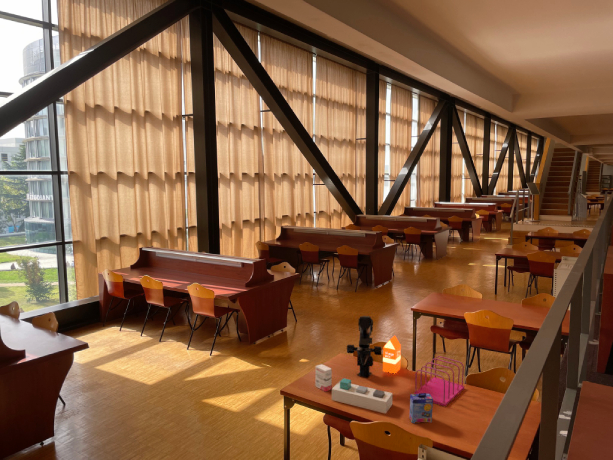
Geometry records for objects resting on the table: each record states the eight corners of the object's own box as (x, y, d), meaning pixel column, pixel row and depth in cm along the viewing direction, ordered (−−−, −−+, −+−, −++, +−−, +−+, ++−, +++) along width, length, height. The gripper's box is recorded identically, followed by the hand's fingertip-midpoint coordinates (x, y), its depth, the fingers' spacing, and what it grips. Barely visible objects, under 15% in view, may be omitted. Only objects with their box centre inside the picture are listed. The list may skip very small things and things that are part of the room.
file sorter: (413, 396, 251) (414, 368, 249) (434, 379, 270) (435, 353, 268) (444, 407, 240) (446, 377, 238) (464, 389, 259) (465, 361, 257)
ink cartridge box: (412, 423, 225) (413, 394, 223) (408, 417, 231) (409, 389, 228) (432, 422, 226) (433, 393, 224) (428, 416, 231) (429, 388, 229)
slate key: (359, 392, 248) (359, 385, 247) (367, 394, 246) (367, 387, 245) (356, 396, 244) (356, 389, 243) (364, 398, 242) (364, 391, 241)
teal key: (343, 385, 251) (343, 378, 251) (351, 387, 249) (351, 379, 249) (339, 388, 248) (339, 381, 247) (347, 390, 246) (347, 383, 245)
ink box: (332, 389, 259) (332, 368, 257) (325, 392, 256) (325, 371, 254) (321, 383, 265) (321, 363, 264) (314, 386, 262) (314, 365, 261)
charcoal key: (375, 396, 243) (376, 389, 243) (384, 398, 241) (384, 391, 241) (372, 400, 240) (373, 393, 239) (381, 402, 238) (381, 395, 237)
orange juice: (400, 368, 284) (401, 336, 281) (395, 374, 277) (396, 341, 274) (388, 365, 288) (388, 333, 285) (382, 371, 281) (383, 338, 278)
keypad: (339, 391, 256) (339, 381, 255) (392, 404, 243) (392, 393, 242) (331, 399, 247) (331, 388, 247) (385, 413, 234) (386, 402, 233)
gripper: (347, 330, 261) (345, 358, 252) (381, 332, 258) (381, 360, 249) (348, 339, 270) (346, 365, 261) (381, 341, 267) (381, 368, 258)
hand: (363, 365), depth 257 cm, fingers closed
